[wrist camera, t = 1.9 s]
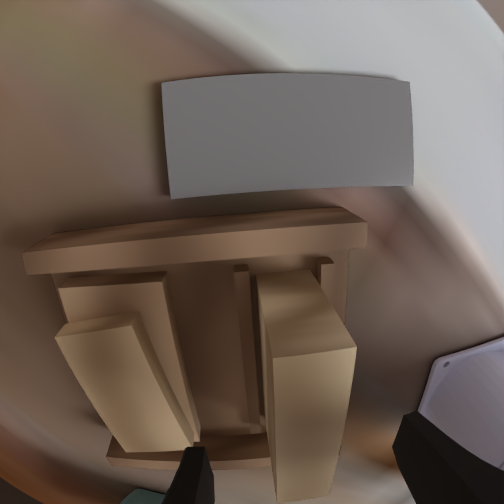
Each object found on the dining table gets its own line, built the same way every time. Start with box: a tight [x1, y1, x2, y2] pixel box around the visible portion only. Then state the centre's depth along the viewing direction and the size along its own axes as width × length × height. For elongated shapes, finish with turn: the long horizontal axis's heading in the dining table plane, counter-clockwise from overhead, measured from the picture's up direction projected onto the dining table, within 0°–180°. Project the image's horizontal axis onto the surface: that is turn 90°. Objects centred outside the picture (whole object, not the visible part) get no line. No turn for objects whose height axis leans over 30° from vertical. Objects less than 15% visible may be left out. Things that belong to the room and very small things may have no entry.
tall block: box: [256, 270, 357, 503], centre depth 13 cm, size 2×9×6 cm, turn 4°
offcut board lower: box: [58, 271, 201, 442], centre depth 15 cm, size 5×10×1 cm, turn 4°
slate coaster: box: [161, 73, 414, 199], centre depth 13 cm, size 11×5×1 cm, turn 94°
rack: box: [21, 207, 368, 470], centre depth 15 cm, size 14×14×3 cm
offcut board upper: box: [55, 311, 194, 452], centre depth 14 cm, size 4×8×1 cm, turn 12°
